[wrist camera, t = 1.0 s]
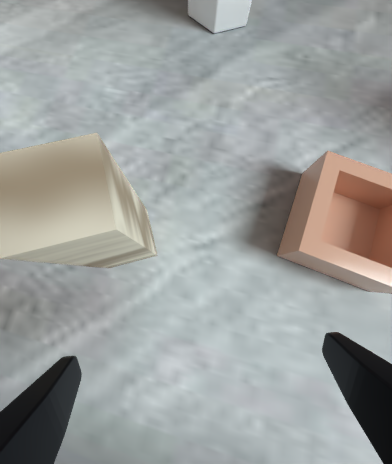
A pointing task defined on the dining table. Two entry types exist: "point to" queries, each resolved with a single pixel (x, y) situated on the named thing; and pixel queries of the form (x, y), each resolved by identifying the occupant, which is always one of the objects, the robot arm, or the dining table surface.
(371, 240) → the socket
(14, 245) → the birch block
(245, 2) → the jar
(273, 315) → the dining table surface
